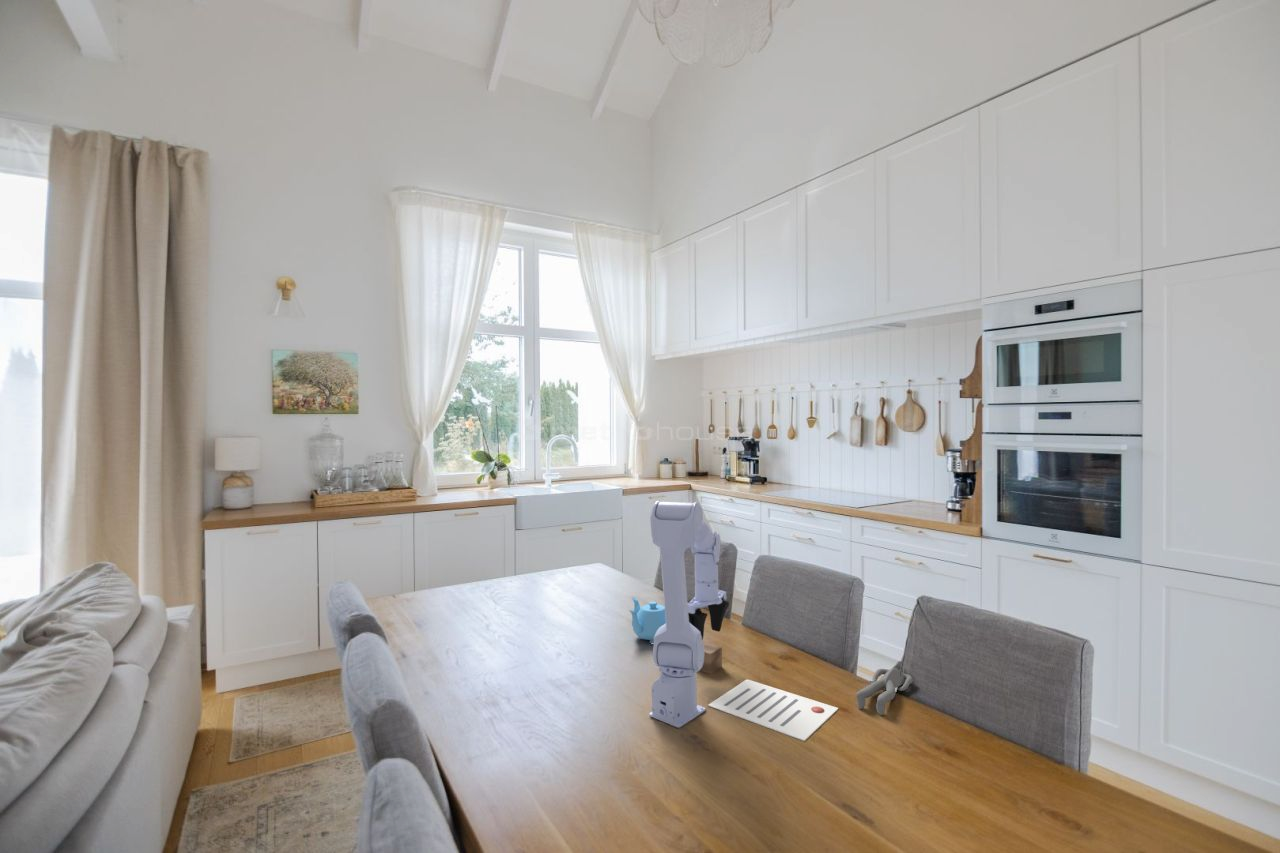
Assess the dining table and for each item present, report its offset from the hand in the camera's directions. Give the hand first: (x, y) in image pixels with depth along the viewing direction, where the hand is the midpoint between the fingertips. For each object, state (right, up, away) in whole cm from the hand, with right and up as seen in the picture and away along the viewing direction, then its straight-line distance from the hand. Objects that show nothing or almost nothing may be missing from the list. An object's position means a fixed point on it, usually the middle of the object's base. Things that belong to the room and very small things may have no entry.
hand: (707, 634), depth 146 cm
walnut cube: (0, -8, 0) cm, 8 cm away
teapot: (-13, -8, +20) cm, 25 cm away
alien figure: (+39, -4, -14) cm, 41 cm away
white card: (+11, -8, -20) cm, 25 cm away
